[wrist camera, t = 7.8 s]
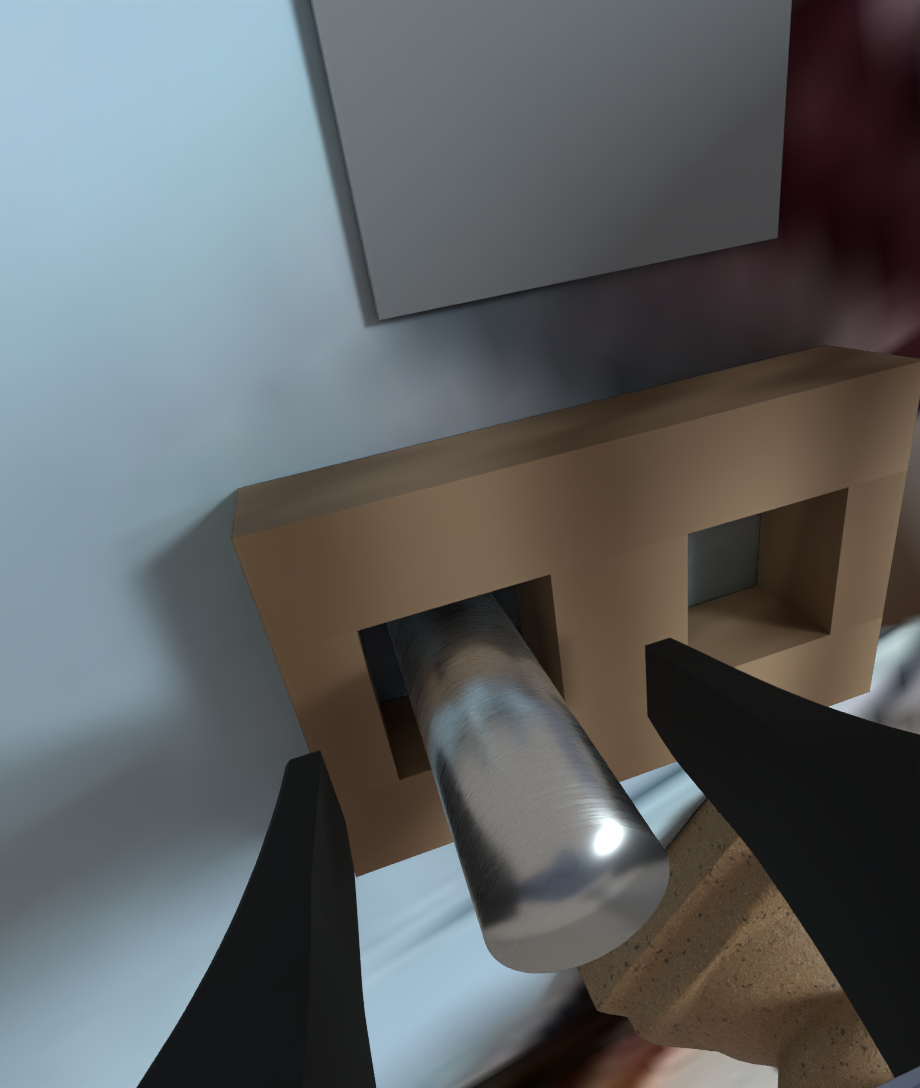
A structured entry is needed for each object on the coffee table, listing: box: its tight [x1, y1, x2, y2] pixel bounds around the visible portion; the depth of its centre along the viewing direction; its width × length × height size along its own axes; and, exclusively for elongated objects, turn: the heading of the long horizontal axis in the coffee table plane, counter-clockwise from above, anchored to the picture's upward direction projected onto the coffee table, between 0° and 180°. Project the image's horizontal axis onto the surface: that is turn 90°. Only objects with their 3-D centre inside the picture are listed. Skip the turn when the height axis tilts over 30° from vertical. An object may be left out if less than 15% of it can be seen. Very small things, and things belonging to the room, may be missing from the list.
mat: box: [310, 0, 792, 320], centre depth 12 cm, size 10×10×1 cm
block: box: [231, 345, 920, 877], centre depth 17 cm, size 16×10×3 cm, turn 100°
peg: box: [387, 592, 669, 973], centre depth 13 cm, size 3×3×9 cm
